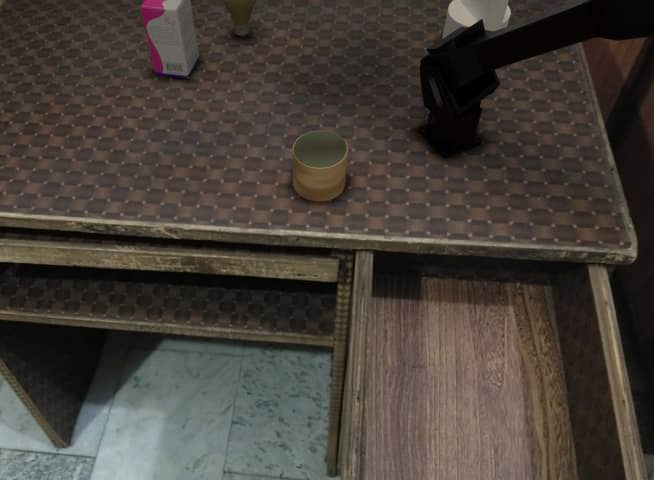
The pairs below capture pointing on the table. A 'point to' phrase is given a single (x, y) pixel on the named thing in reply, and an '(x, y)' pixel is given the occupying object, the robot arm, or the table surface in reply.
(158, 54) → the supplement box
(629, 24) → the robot arm
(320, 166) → the tan cup
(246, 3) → the light bulb
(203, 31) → the table surface
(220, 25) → the table surface
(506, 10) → the drinking glass
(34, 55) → the table surface
